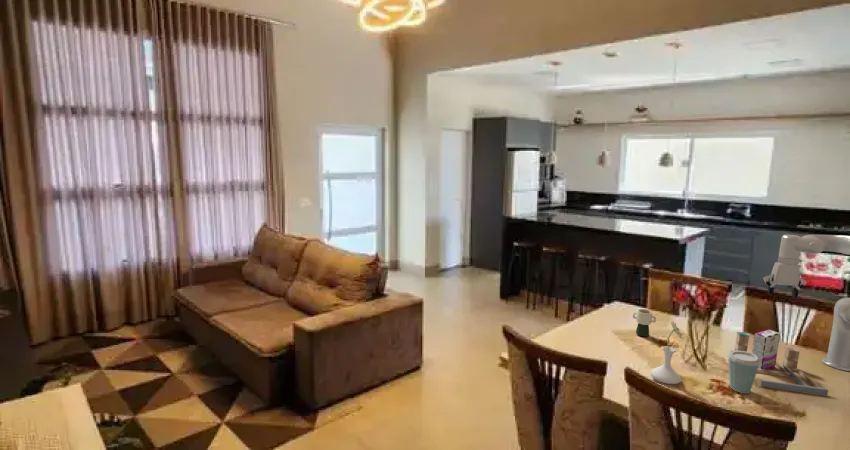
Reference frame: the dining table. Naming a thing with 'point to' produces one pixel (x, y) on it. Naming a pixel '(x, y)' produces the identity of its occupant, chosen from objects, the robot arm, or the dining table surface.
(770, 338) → the candy bar box
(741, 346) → the sled
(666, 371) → the flower in vase
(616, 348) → the dining table surface
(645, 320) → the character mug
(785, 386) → the lane rails
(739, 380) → the disposable coffee cup
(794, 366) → the sled
